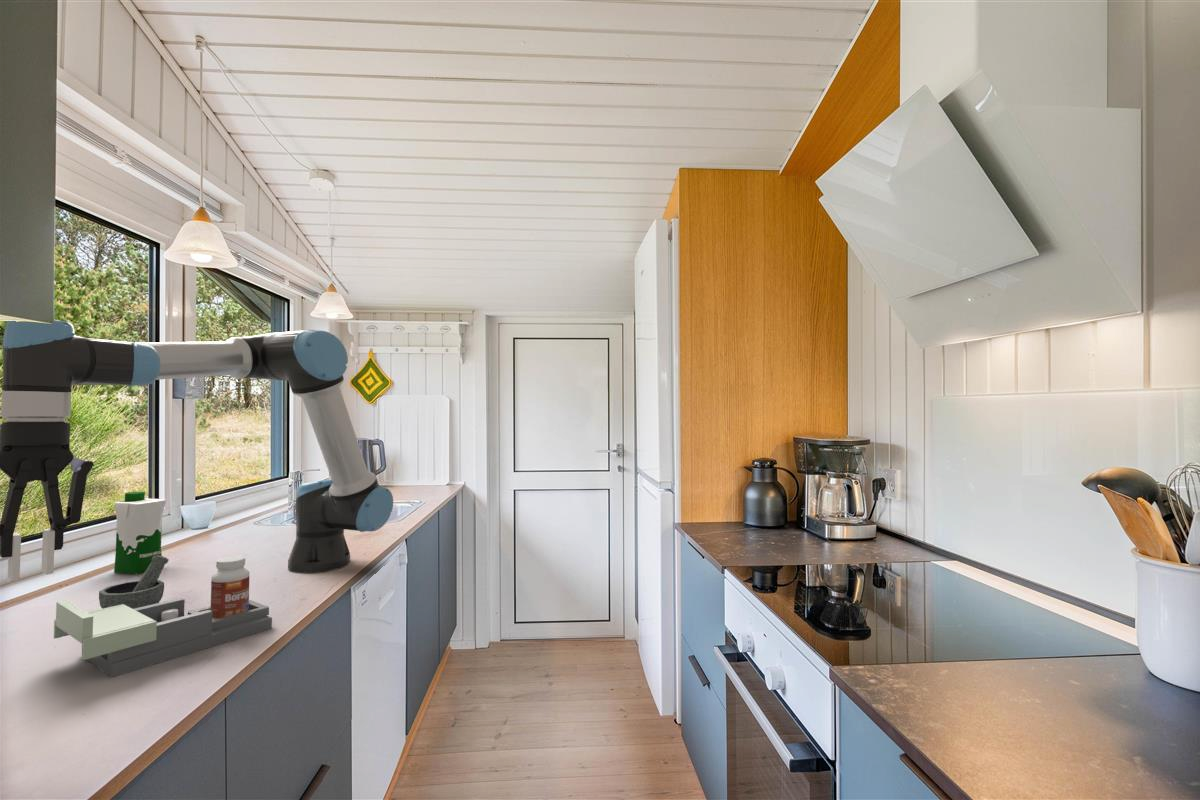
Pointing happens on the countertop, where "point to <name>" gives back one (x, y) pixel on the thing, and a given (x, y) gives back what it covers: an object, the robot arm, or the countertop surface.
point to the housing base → (183, 634)
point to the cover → (103, 628)
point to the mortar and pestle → (137, 588)
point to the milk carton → (137, 532)
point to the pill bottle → (230, 587)
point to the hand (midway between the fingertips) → (30, 574)
